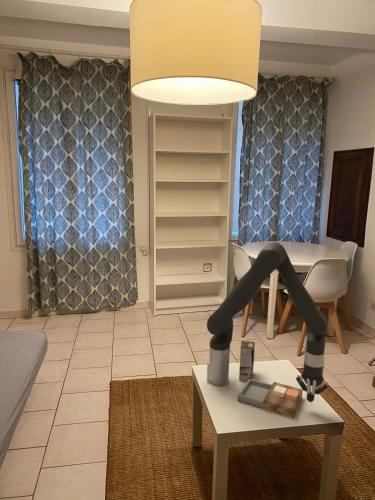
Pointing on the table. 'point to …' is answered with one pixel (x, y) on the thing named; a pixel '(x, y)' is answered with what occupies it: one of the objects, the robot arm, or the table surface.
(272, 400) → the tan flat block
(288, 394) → the tile
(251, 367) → the coffee box
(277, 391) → the tile
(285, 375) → the table surface
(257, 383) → the bin
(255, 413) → the table surface
